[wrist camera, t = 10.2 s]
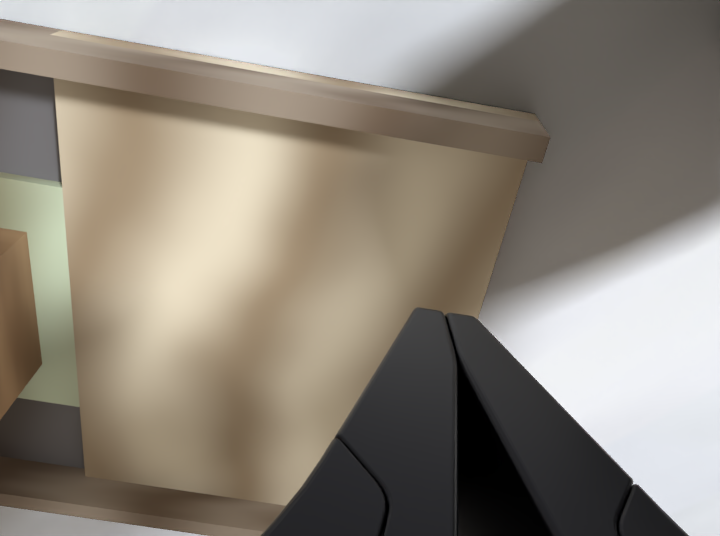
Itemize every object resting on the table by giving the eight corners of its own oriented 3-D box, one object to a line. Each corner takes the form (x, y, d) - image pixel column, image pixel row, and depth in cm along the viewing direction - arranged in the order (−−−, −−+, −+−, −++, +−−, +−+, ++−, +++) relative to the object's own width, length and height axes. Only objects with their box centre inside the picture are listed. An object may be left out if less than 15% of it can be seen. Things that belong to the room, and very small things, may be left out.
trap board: (534, 113, 20) (550, 137, 18) (408, 520, 30) (409, 564, 28) (-170, -12, 19) (-235, -2, 17) (-59, 452, 29) (-92, 492, 27)
